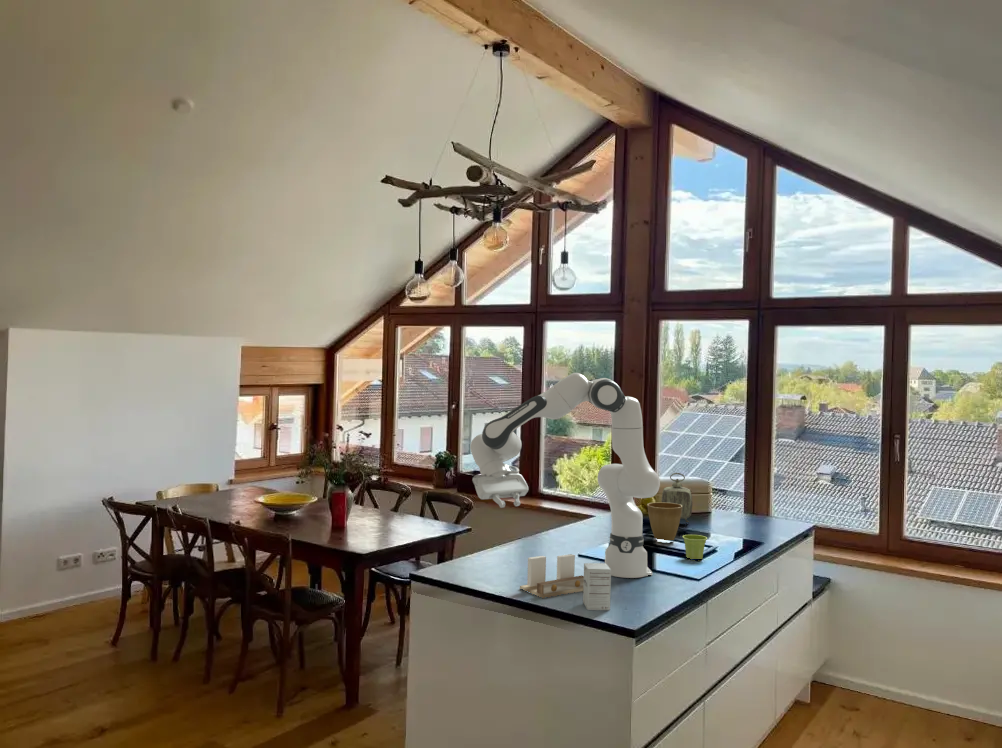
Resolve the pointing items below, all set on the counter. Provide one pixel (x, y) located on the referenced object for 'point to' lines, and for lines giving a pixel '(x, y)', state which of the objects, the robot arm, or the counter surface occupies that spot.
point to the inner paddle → (565, 566)
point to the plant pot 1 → (664, 519)
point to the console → (556, 587)
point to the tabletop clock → (679, 497)
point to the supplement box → (597, 586)
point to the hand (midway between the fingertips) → (510, 505)
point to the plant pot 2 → (694, 546)
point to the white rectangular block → (536, 570)
